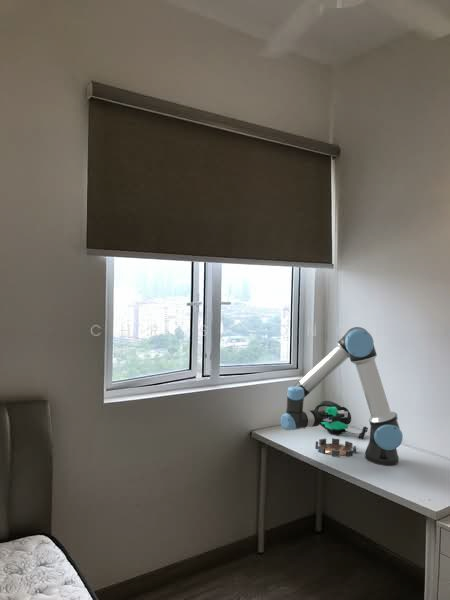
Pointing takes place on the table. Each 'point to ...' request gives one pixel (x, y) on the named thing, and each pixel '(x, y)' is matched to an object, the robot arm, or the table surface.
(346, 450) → the ring collar
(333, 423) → the camera mount
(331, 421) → the robot arm
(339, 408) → the headset
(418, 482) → the table surface
